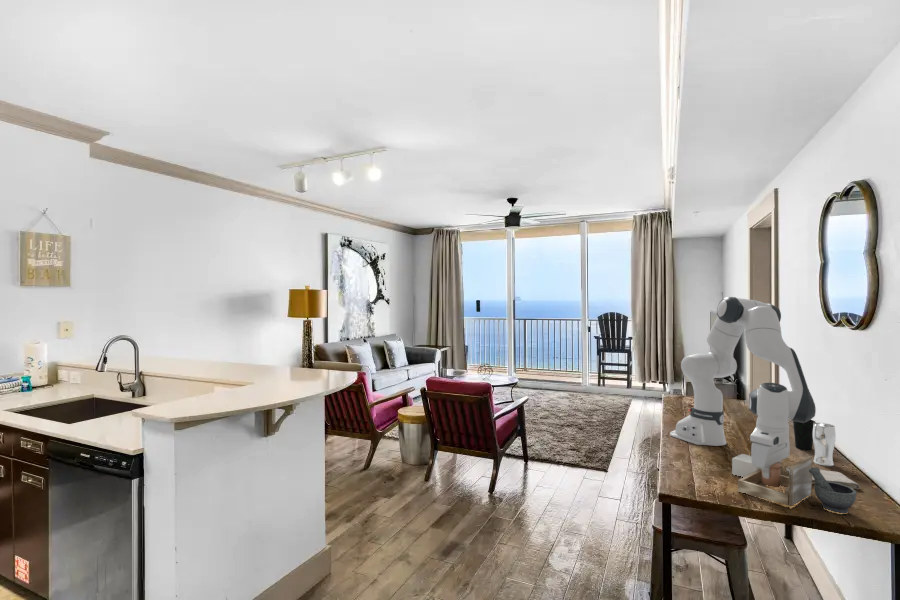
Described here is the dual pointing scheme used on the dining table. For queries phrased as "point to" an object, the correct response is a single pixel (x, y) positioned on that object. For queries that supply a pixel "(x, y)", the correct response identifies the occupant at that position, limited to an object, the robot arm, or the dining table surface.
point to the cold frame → (795, 483)
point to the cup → (803, 435)
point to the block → (743, 465)
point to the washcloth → (835, 478)
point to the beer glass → (823, 443)
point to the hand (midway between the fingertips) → (770, 475)
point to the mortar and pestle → (833, 493)
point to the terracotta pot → (773, 475)
